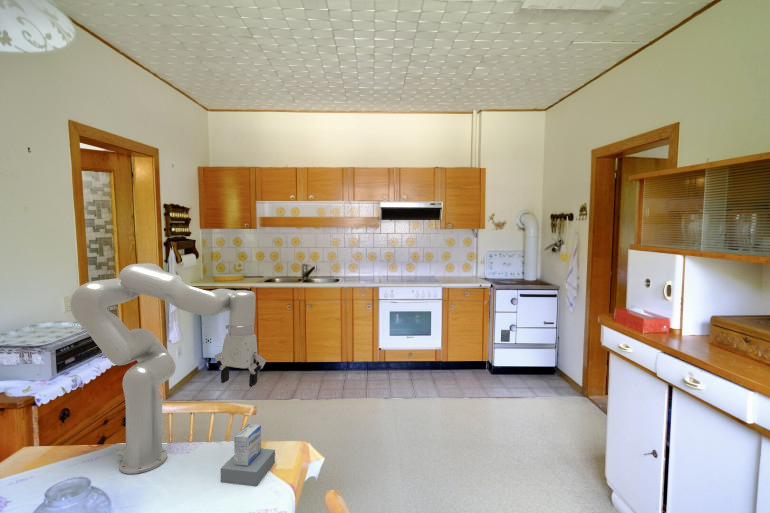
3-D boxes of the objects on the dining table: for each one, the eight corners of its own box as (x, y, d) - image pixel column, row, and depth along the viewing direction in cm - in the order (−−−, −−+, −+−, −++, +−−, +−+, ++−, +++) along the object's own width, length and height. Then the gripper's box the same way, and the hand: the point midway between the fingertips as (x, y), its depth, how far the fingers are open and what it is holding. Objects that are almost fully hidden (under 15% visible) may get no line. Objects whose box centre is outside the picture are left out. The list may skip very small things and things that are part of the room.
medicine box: (247, 466, 107) (248, 437, 106) (233, 465, 107) (234, 435, 107) (261, 452, 114) (261, 424, 114) (248, 450, 115) (248, 423, 115)
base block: (220, 482, 106) (220, 468, 106) (242, 458, 118) (242, 446, 117) (256, 486, 104) (256, 472, 104) (274, 462, 116) (275, 449, 116)
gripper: (209, 329, 114) (206, 384, 114) (260, 335, 111) (257, 391, 111) (224, 325, 121) (221, 376, 122) (272, 330, 118) (269, 382, 118)
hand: (238, 383), depth 116 cm, fingers open, 9 cm apart
